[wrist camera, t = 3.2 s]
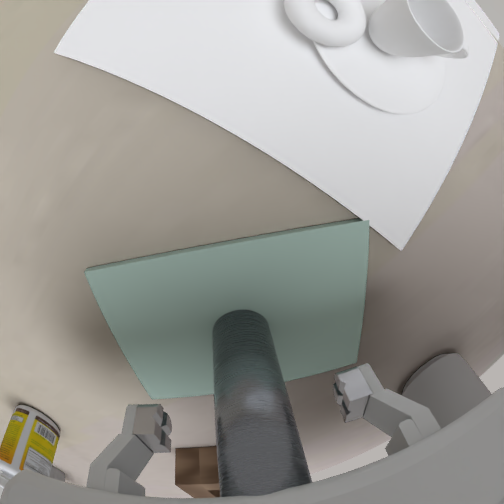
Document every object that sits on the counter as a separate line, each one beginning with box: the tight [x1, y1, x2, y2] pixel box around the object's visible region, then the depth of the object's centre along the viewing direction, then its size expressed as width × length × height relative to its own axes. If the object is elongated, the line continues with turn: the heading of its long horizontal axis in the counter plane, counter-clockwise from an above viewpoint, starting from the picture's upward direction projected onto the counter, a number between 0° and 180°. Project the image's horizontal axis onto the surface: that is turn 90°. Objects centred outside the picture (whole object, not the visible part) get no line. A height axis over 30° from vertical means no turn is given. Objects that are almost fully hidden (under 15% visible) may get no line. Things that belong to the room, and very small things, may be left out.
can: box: [402, 353, 491, 429], centre depth 15 cm, size 8×8×12 cm
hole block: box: [175, 446, 220, 498], centre depth 20 cm, size 9×9×4 cm
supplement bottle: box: [0, 405, 60, 489], centre depth 13 cm, size 6×6×10 cm
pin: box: [212, 310, 312, 497], centre depth 10 cm, size 3×3×10 cm
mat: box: [84, 218, 369, 399], centre depth 14 cm, size 14×10×1 cm
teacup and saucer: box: [282, 0, 470, 115], centre depth 7 cm, size 9×8×4 cm
